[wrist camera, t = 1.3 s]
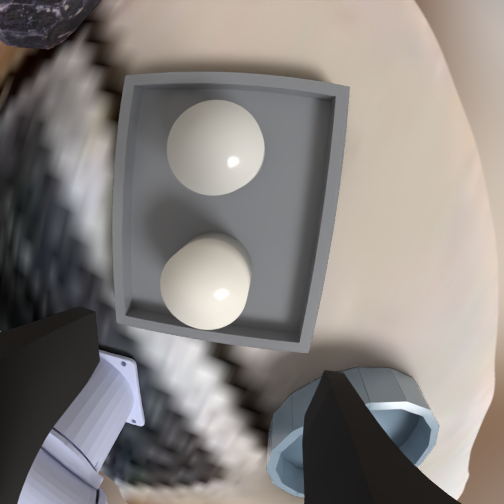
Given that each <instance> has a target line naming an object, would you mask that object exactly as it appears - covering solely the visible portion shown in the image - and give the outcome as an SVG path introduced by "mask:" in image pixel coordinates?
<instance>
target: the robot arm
mask: <svg viewBox="0 0 504 504" xmlns="http://www.w3.org/2000/svg"><path fill="white" fill-rule="evenodd" d="M123 361H124V362H125V363H126V364H125V363H124V362H123ZM125 422H128V423H131V424H135V425H138V426H143V425H144V423H145V420H144V414H143V408H142V402H141V396H140V389H139V382H138V374H137V366H136V362H135V361H134V360H133V359H131V358H128V357H124V356H121V355H117V354H113V353H110V352H106V351H102V350H99V346H98V336H97V324H96V312H94V311H92V310H89V309H86V308H84V307H77V308H73V309H70V310H66V311H63V312H60V313H57V314H54V315H52V316H49V317H46V318H43V319H40V320H37V321H34V322H31V323H28V324H25V325H22V326H19V327H16V328H12V329H9V330H6V331H2V332H0V504H107V499H106V494H105V492H104V491H103V490H102V489H100V488H99V486H100V484H101V483H102V480H103V477H102V476H101V475H99V474H98V472H99V470H100V468H101V466H102V464H103V462H104V461H105V459H106V457H107V455H108V453H109V451H110V449H111V448H112V446H113V444H114V442H115V440H116V439H117V437H118V435H119V433H120V431H121V429H122V428H123V426H124V424H125ZM302 452H303V475H304V504H461V503H460V502H458V501H457V500H455V499H454V498H452V497H451V496H450V495H448V494H447V493H446V492H444V491H443V490H442V489H441V488H439V487H438V486H437V485H436V484H434V483H433V482H432V481H431V480H430V479H429V478H427V477H426V476H425V475H424V474H423V473H422V472H421V471H420V470H419V469H418V468H417V467H416V466H415V465H414V464H413V463H412V462H411V461H410V460H409V459H408V458H407V457H406V456H405V455H404V454H403V452H402V451H401V450H400V449H399V448H398V447H397V445H396V444H395V443H394V442H393V441H392V439H391V438H390V437H389V436H388V435H387V433H386V432H385V431H384V429H383V428H382V427H381V425H380V424H379V423H378V421H377V420H376V419H375V417H374V416H373V415H372V413H371V412H370V410H369V409H368V407H367V406H366V405H365V403H364V402H363V400H362V399H361V397H360V396H359V394H358V393H357V391H356V390H355V388H354V387H353V385H352V384H351V382H350V381H349V379H348V378H347V377H346V375H345V374H344V373H341V372H334V371H327V370H324V373H323V375H322V377H321V380H320V382H319V384H318V387H317V389H316V391H315V393H314V396H313V398H312V400H311V402H310V404H309V406H308V409H307V411H306V413H305V415H304V426H303V439H302Z"/></svg>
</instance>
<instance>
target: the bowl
mask: <svg viewBox="0 0 504 504" xmlns="http://www.w3.org/2000/svg"><path fill="white" fill-rule="evenodd" d="M341 373H344V374H345V375H346V377H347V378H348V379H349V381H350V382H351V384H352V385H353V387H354V388H355V390H356V391H357V393H358V394H359V396H360V397H361V399H362V400H363V402H364V403H365V405H366V406H367V407H368V409H369V410H370V412H371V413H372V415H373V416H374V417H375V419H376V420H377V421H378V423H379V424H380V425H381V427H382V428H383V429H384V431H385V432H386V433H387V435H388V436H389V437H390V438H391V439H392V441H393V442H394V443H395V444H396V445H397V447H398V448H399V449H400V450H401V451H402V452H403V454H404V455H405V456H406V457H407V458H408V459H409V460H410V461H411V462H412V463H413V464H414V465H415V466H416V467H417V466H419V465H420V464H421V463H422V462H423V461H424V459H425V458H426V457H427V455H428V454H429V453H430V451H431V450H432V449H433V447H434V446H435V444H436V440H437V435H438V430H439V424H438V422H437V420H436V418H435V416H434V414H433V412H432V410H431V408H430V406H429V405H428V403H427V401H426V399H425V397H424V395H423V394H422V392H421V390H420V389H419V387H418V385H417V384H416V382H415V380H414V379H413V378H412V377H410V376H407V375H405V374H403V373H401V372H399V371H396V370H394V369H392V368H370V367H356V368H353V369H349V370H346V371H342V372H341ZM320 380H321V377H320V378H318V379H317V380H315V381H313V382H312V383H310V384H308V385H306V386H304V387H303V388H301V389H299V390H297V391H295V392H294V393H292V394H291V395H290V396H289V397H288V398H287V399H286V400H285V401H284V403H283V404H282V405H281V406H280V407H279V408H278V409H277V410H276V411H275V413H274V414H273V416H272V420H271V425H270V429H269V433H268V448H267V465H266V470H267V472H268V474H269V476H270V478H271V480H272V481H273V483H274V485H275V486H277V487H279V488H280V489H282V490H284V491H286V492H287V493H289V494H291V495H293V496H298V497H302V498H304V475H303V452H302V439H303V426H304V415H305V413H306V411H307V409H308V406H309V404H310V402H311V400H312V398H313V396H314V393H315V391H316V389H317V387H318V384H319V382H320Z"/></svg>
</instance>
